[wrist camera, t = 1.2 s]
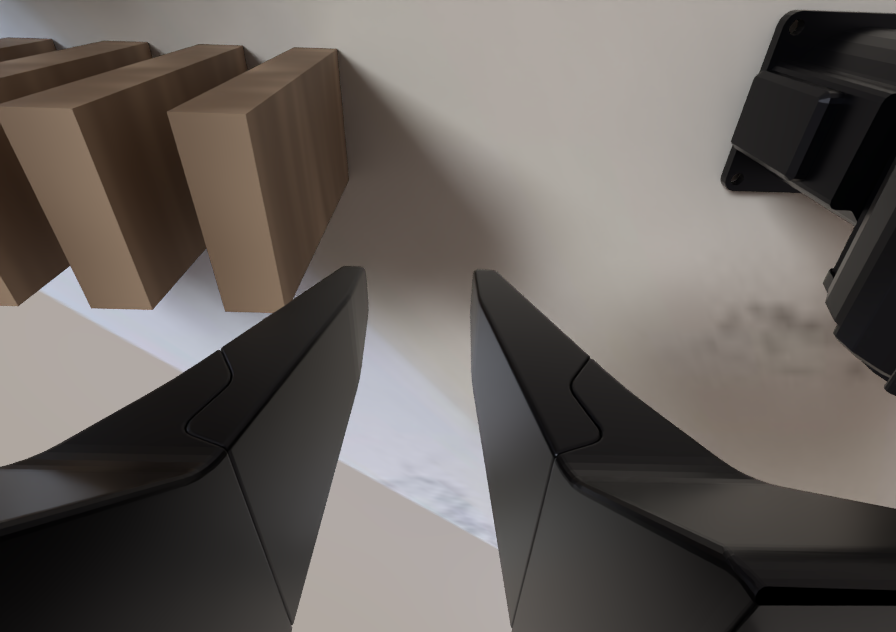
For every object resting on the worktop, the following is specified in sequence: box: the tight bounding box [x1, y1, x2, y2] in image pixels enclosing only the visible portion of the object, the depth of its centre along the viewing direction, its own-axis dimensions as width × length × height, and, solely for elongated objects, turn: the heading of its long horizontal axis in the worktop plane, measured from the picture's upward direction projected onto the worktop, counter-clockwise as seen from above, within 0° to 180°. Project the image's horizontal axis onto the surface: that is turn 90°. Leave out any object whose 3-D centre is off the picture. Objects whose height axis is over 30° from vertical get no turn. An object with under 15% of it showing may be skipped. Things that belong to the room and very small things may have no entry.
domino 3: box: [167, 47, 349, 313], centre depth 15 cm, size 2×5×10 cm, turn 178°
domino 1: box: [0, 41, 152, 306], centre depth 15 cm, size 2×5×10 cm, turn 178°
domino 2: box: [0, 44, 247, 310], centre depth 15 cm, size 2×5×10 cm, turn 178°
